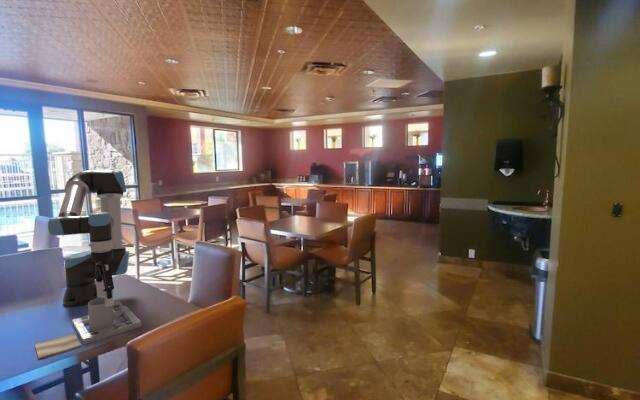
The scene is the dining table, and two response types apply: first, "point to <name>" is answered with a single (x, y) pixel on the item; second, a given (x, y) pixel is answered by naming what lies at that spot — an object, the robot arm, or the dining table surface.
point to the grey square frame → (103, 333)
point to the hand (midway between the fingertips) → (105, 301)
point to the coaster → (57, 346)
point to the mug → (102, 314)
